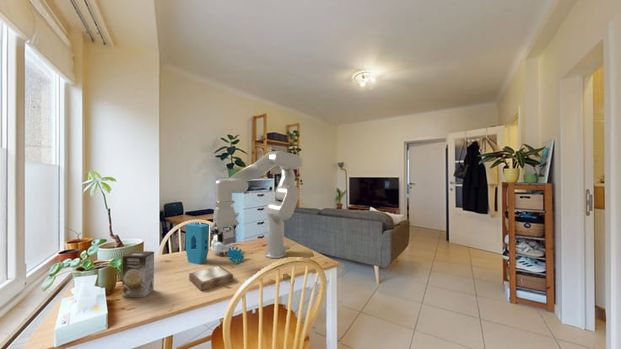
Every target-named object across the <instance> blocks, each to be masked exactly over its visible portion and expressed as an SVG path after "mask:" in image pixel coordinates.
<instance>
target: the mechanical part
mask: <svg viewBox="0 0 621 349" xmlns="http://www.w3.org/2000/svg"><path fill="white" fill-rule="evenodd" d="M232 247H234V243H230V244H226V245H224V244H222V243H220V242H218V241H217V234H215V235H213V239H212V240H211V250H212V253H216V254H218V255H220V254H221V253H223V255H226V253H227V251H228V249H229V248H231V249H232Z"/></svg>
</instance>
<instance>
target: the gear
mask: <svg viewBox="0 0 621 349" xmlns="http://www.w3.org/2000/svg"><path fill="white" fill-rule="evenodd" d="M242 251H243V250H242V248H240V249H239V247H238V246H236V247H235V246H233V247H231V248H229V249H228V251H227V252H226V253H227V255H226V256H227V258H229V261H230V262H231V261H232V263H233V264H240V263H242V262H243V260H244V258H245V256H244V255H245V253H246V251H243V252H242Z"/></svg>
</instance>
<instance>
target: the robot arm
mask: <svg viewBox="0 0 621 349" xmlns="http://www.w3.org/2000/svg"><path fill="white" fill-rule="evenodd" d="M302 166H303V160H302V158H301V156H300V155H299V154H294V153H290V152H288V151H287V152H286V151H282V150H273V151H269V152H267V153H266V154H264V155H263V156H262V157H260V158H259V159H257V160H256V161H255V162H254V163H252V164H250V165H248V166H246V167H244V168H242V169H240V170H239V171H236V172H235V173H234V174H232V175H231V176H230V177H228V178H227V179H217V180H216V181H215V200H216V202H215V206H216V207H214V209H213V216H212V218H213V220H212V221H213V222H212V224H211V225H210V226H209V227H210V228H209V230H211V231H213V232H214V233H216V235H217V240H218V241H219V242H222V234H221V230H222V228H228V229H231V230H233V231H234V232H235V230H236V229H237V227H238V225H239V224H240V223H239V221H238V219H237V218H236V213H235V208H234V206H233V205H234V204H235V200H233V194H244V193H245V192H246V191H248V189H249V183H248V182H249V181H252V180H256V179H259V178H261V177H264V176H265V175H266V174H267V173H268V172H270V170H272V169H273V168H274V167H279V168H280V171H281V176H280V180H279V182H278V184H277V186H276V189H275V194H274V196H275V198H276V199H277V200H273V201H271V202H269V203H268V204H267V205H266V208H265V210H266V219H267V245H266V246H267V249H266V251H265V252H264V256H265V257H266V258H269V259H280V258H284V257H286V256H287V252H286V250H287V251H288V250H290V249H291V246H290V245H287V246H286V245H285V244H284V242H285V223H284V221H285V220H289V219H290V218H291V217H292V216H293V214H294V212H295V209H296V206H297V204H298V201H299V198H300V190H299V188H298V187H297V186H296V185H294V184H295V181H296V174H295V171H294V170H299V169H300V168H301V167H302ZM278 200H279V201H278Z"/></svg>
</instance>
